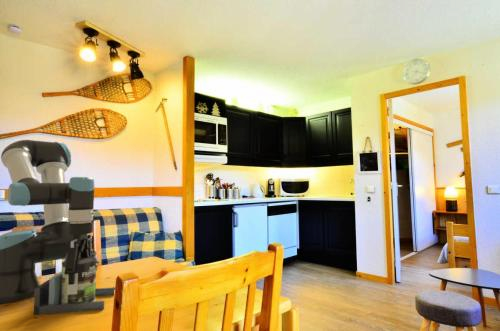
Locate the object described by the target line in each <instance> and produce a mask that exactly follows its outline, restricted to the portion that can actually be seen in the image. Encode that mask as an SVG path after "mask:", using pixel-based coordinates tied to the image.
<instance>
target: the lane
mask: <svg viewBox="0 0 500 331" xmlns="http://www.w3.org/2000/svg"><path fill="white" fill-rule="evenodd" d="M49 280H50V278H49V279H47V280H46V281H45V282H43V283H41V284H40V285H39V286H38V287H36V288H35V290H34V296H33V316H43V315H53V314H55V315H56V314H67V313H81V312H91V311H104V309H105V300H95V301H92V302H78V303H65V304H51V305H49ZM114 290H115V291H116V286H115V287H101V288H100V287H99V288H97V287H96V289H95V298H97V297H108V296H109V297H110V296H115V295H114Z"/></svg>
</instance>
